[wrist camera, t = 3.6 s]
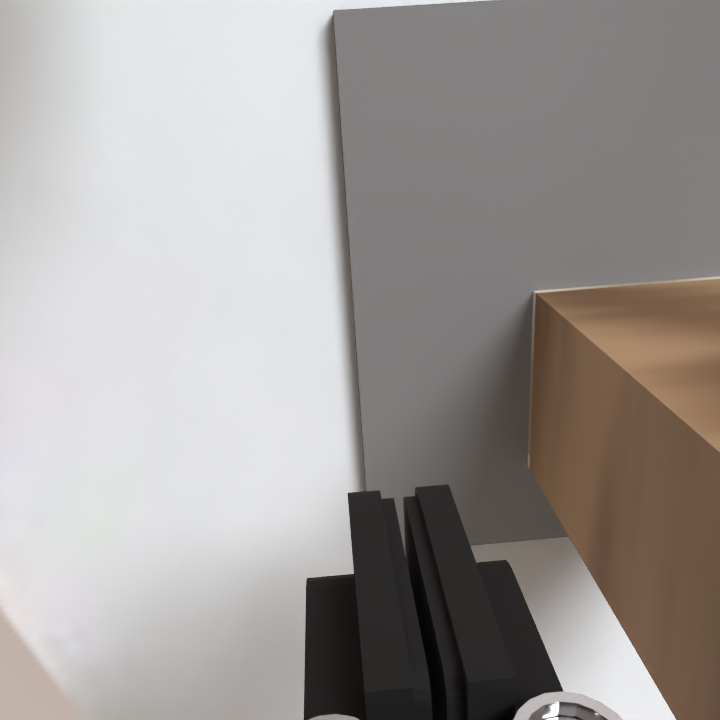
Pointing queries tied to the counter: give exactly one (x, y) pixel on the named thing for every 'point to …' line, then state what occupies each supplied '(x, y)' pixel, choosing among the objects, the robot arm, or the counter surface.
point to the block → (638, 463)
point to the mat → (509, 214)
